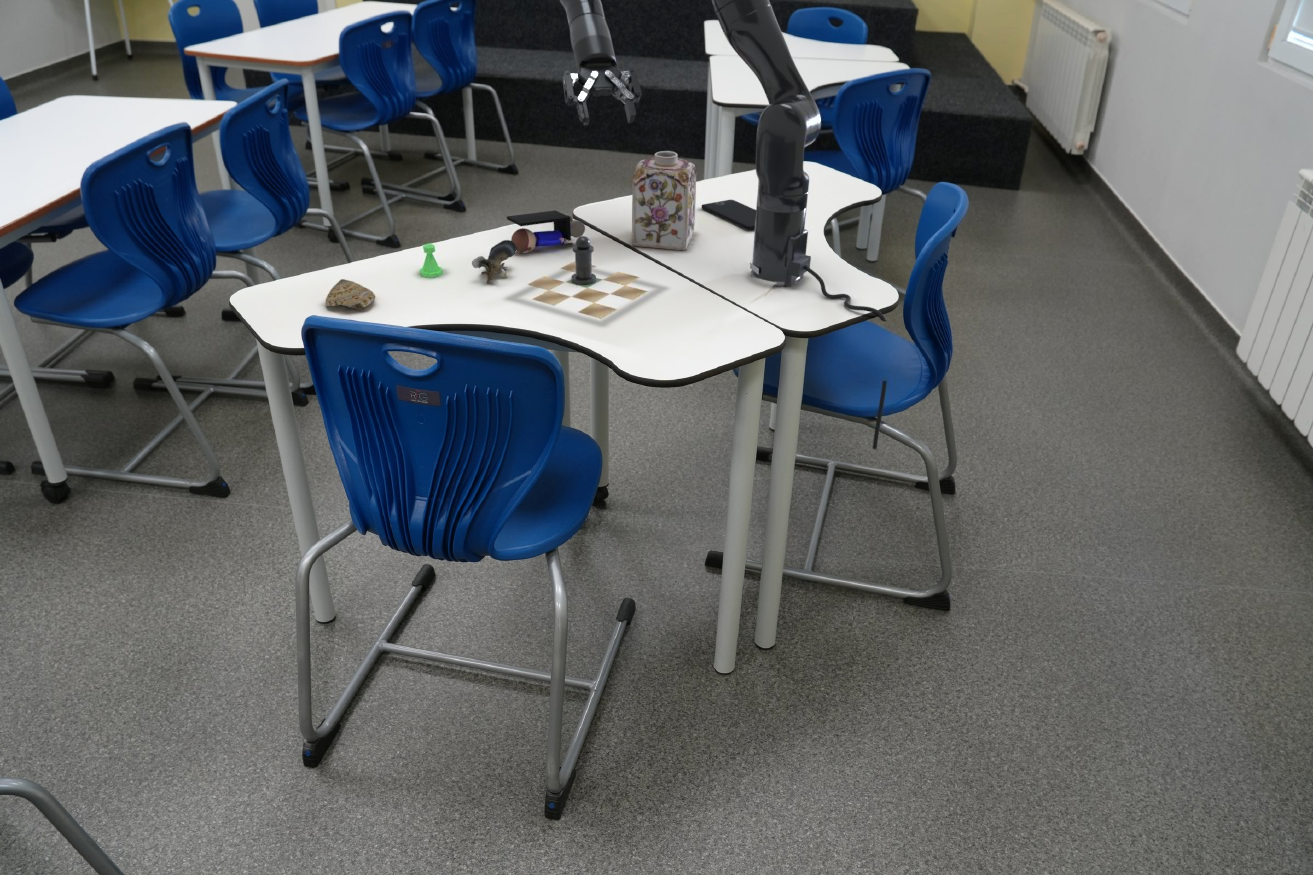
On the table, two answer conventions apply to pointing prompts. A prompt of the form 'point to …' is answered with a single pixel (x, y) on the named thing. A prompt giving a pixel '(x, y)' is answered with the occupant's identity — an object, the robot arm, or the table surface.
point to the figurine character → (562, 229)
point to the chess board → (588, 292)
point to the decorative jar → (663, 202)
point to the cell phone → (733, 213)
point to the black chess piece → (583, 262)
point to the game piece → (430, 263)
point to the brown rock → (349, 295)
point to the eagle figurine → (496, 259)
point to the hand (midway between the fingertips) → (609, 122)
